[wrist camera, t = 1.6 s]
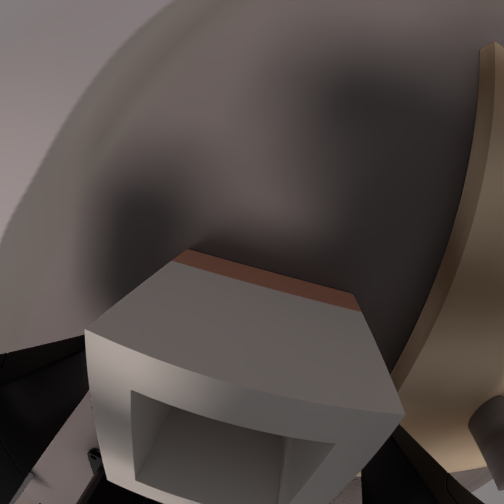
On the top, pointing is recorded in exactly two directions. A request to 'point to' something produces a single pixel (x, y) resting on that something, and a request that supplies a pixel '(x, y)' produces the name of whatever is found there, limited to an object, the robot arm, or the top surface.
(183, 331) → the sleeve
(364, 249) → the top surface
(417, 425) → the pin board
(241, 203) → the top surface
